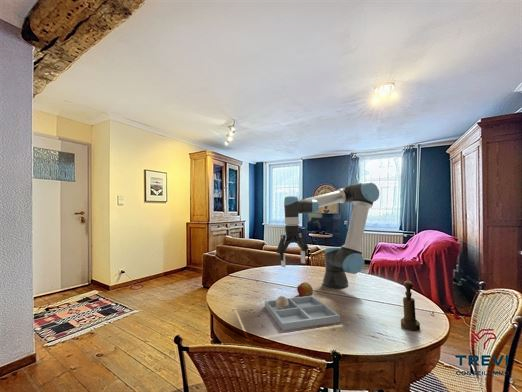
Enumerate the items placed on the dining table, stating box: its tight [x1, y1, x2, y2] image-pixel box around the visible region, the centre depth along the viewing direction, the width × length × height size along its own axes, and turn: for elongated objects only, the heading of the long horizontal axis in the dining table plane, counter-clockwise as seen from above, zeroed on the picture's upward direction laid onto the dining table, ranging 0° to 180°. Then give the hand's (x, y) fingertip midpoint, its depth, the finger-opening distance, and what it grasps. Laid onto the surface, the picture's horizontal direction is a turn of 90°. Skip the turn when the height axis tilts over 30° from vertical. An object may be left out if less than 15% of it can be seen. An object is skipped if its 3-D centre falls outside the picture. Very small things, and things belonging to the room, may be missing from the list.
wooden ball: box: [275, 295, 289, 310], centre depth 116 cm, size 6×6×6 cm
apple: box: [296, 281, 314, 297], centre depth 134 cm, size 8×8×8 cm
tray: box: [264, 295, 341, 333], centre depth 111 cm, size 25×25×4 cm
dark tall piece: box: [400, 280, 421, 332], centre depth 99 cm, size 7×6×18 cm
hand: (293, 264), depth 134 cm, fingers open, 13 cm apart
